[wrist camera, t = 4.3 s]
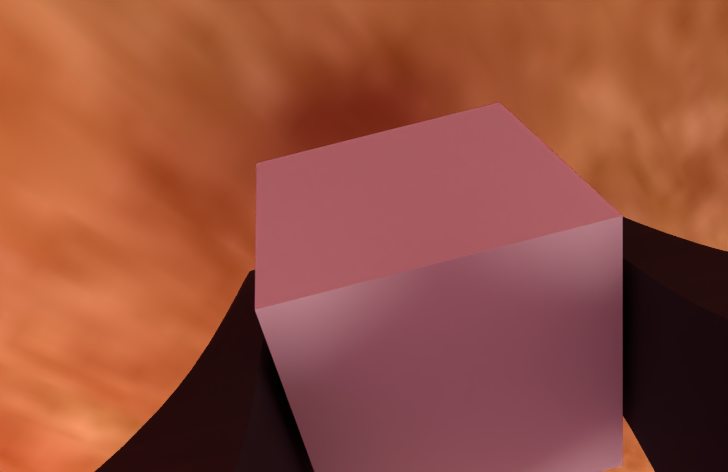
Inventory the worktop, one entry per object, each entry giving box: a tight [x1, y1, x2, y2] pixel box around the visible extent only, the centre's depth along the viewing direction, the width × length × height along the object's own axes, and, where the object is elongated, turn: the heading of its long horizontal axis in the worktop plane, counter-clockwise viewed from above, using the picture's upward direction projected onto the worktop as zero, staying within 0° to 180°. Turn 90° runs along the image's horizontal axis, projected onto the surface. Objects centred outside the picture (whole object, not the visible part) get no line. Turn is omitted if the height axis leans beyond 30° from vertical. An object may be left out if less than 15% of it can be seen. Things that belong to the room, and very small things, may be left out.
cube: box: [255, 102, 623, 472], centre depth 12 cm, size 5×5×5 cm
